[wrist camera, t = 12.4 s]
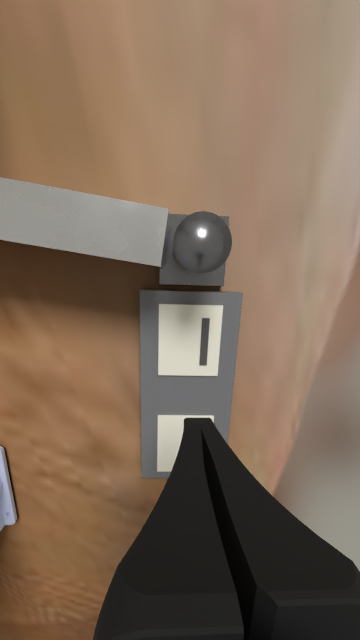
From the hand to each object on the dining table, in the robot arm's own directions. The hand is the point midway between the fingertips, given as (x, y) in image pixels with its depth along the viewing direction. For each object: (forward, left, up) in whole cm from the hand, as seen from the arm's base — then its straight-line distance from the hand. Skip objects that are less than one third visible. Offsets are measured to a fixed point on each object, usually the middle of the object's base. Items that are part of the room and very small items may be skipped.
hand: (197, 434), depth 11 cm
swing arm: (+11, +12, -7) cm, 17 cm away
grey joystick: (+10, 0, -8) cm, 13 cm away
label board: (-2, 0, -8) cm, 9 cm away
